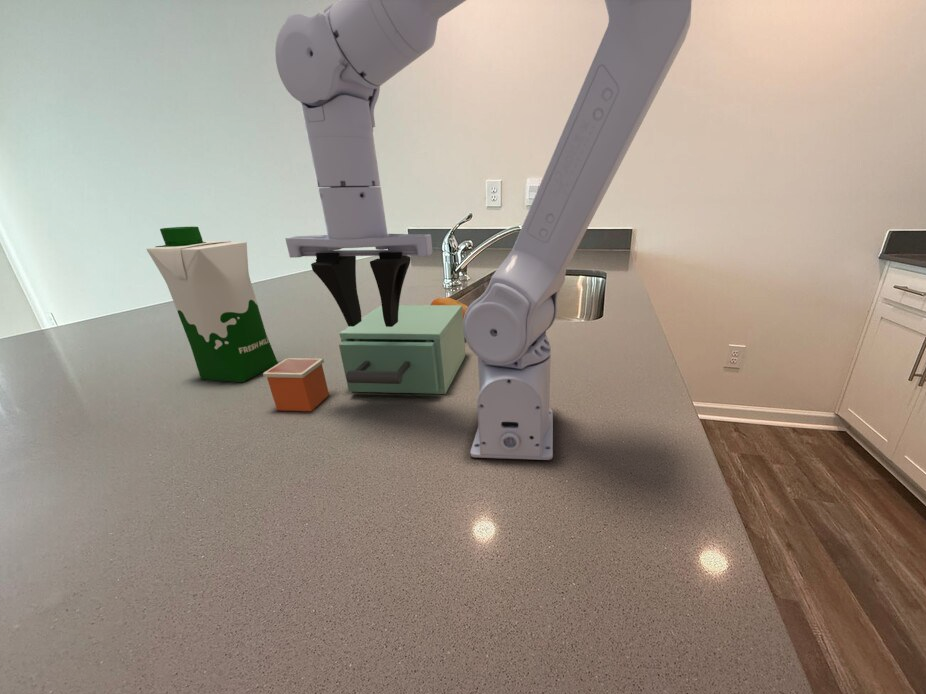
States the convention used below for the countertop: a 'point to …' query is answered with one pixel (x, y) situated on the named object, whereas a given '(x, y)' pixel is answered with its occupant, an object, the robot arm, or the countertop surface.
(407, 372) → the drawer
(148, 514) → the countertop surface
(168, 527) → the countertop surface
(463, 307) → the fruit
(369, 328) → the green cabinet
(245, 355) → the milk carton
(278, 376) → the plastic tub
